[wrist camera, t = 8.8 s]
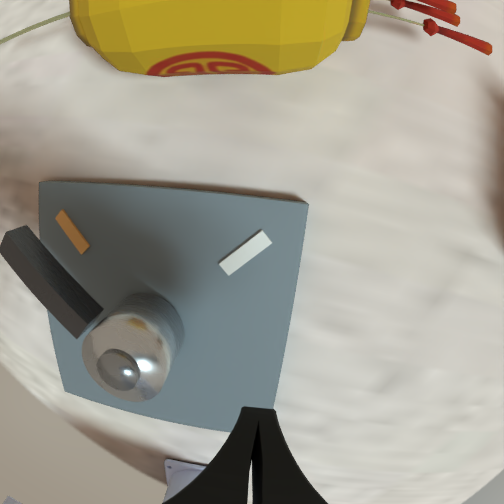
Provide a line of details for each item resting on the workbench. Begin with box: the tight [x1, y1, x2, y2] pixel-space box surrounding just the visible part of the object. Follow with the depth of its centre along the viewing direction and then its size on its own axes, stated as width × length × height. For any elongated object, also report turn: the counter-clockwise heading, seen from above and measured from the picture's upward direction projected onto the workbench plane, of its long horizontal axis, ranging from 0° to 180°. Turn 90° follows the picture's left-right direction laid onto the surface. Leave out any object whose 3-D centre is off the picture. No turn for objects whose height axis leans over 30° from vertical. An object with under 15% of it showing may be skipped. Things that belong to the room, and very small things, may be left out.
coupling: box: [0, 225, 185, 402], centre depth 17 cm, size 12×5×5 cm, turn 46°
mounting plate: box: [39, 181, 309, 432], centre depth 21 cm, size 18×18×1 cm
